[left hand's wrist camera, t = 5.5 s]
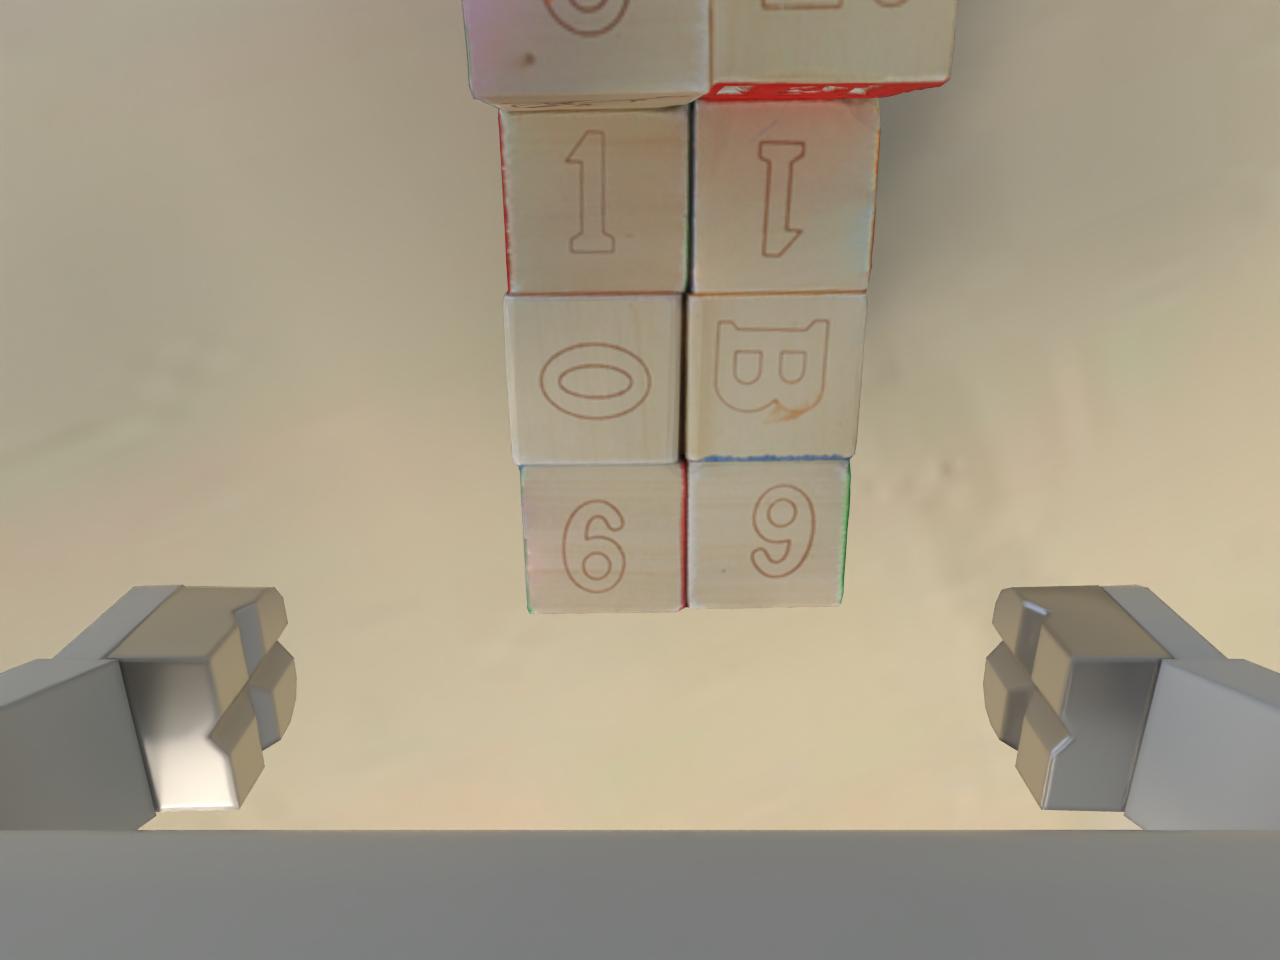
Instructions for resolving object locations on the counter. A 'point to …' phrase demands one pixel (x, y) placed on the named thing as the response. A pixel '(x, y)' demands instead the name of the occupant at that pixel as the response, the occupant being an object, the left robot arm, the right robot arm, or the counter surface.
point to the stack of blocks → (690, 283)
